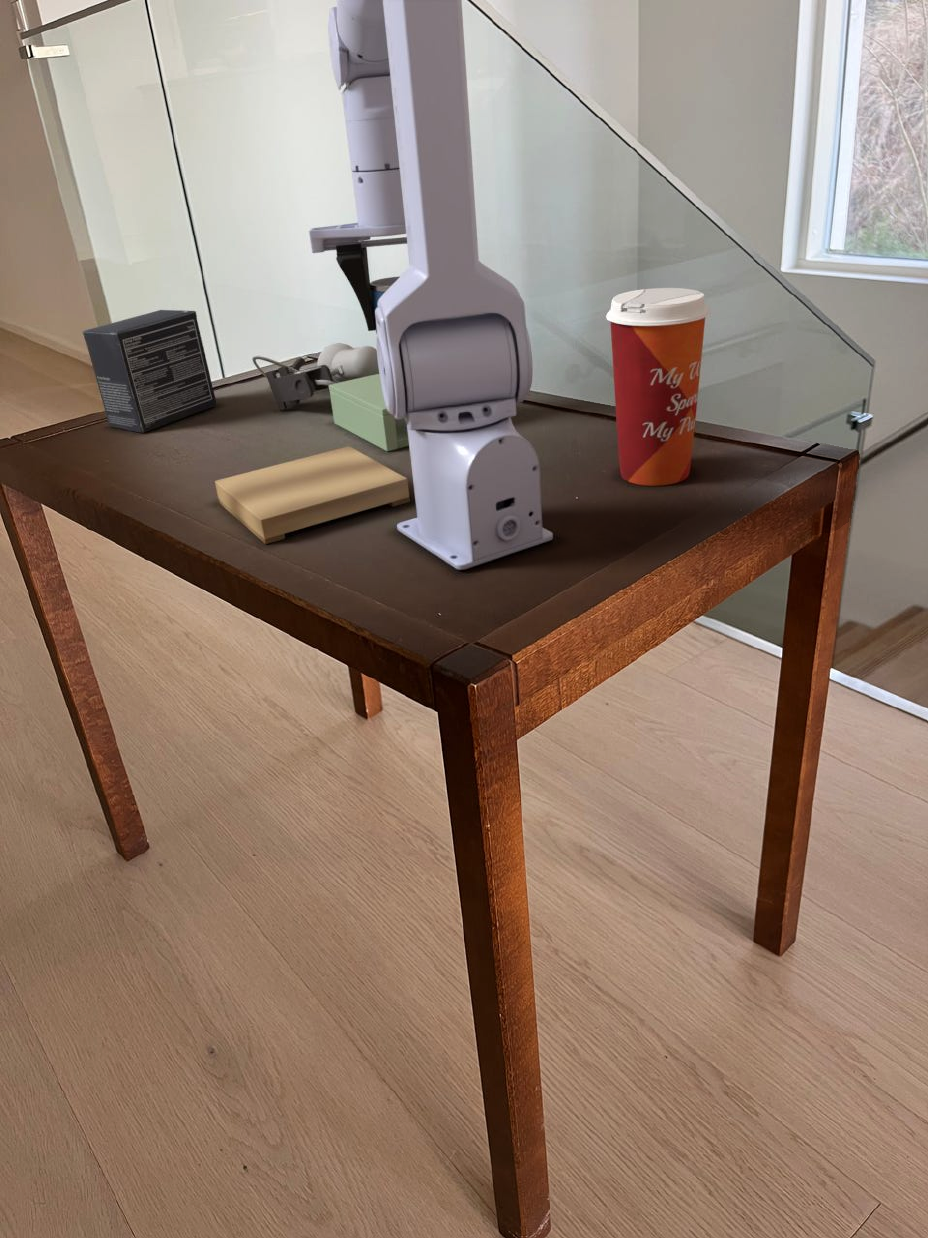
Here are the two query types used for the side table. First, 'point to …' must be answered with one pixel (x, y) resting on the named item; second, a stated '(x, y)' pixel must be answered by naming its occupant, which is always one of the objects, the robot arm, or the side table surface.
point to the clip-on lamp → (319, 372)
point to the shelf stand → (367, 413)
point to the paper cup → (656, 380)
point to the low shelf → (309, 492)
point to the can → (380, 290)
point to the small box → (151, 369)
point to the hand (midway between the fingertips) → (401, 326)
